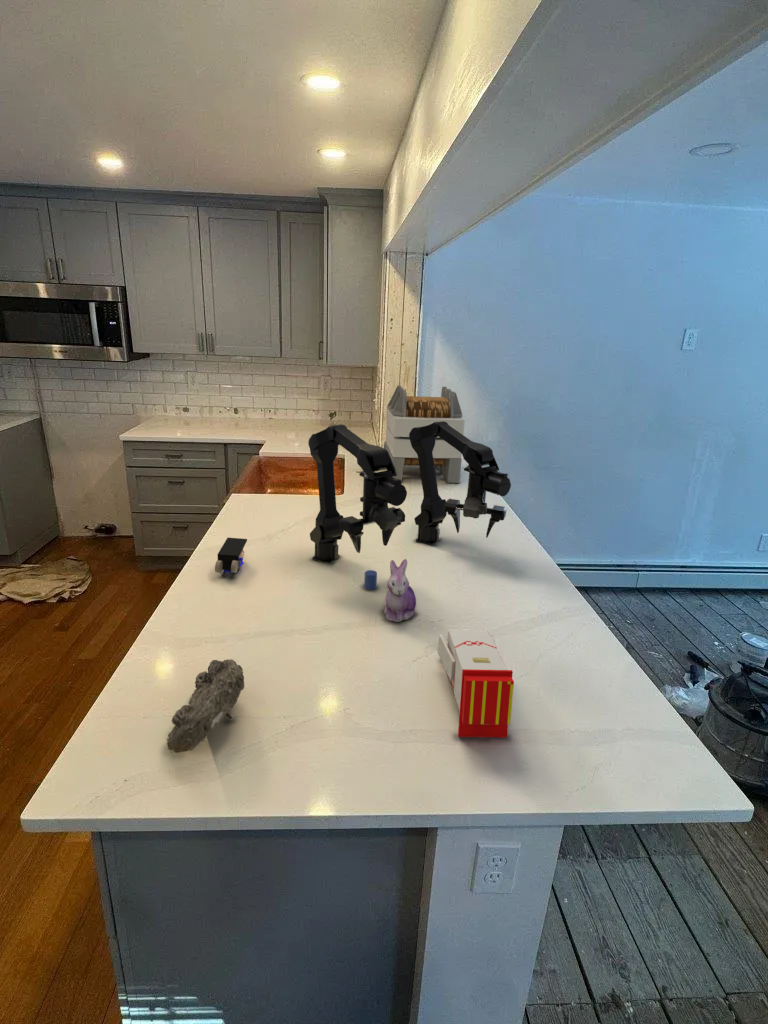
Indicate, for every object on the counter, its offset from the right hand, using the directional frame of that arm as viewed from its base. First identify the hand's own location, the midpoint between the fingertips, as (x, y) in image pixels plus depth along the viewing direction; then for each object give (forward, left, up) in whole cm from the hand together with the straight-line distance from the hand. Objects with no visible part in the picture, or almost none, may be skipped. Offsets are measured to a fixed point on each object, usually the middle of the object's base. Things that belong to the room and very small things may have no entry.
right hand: (472, 534), depth 179 cm
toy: (+19, -65, -9) cm, 68 cm away
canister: (-20, -33, -9) cm, 39 cm away
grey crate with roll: (-50, +86, -9) cm, 100 cm away
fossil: (-23, -95, -9) cm, 99 cm away
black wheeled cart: (-60, -42, -9) cm, 74 cm away
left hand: (-20, -33, +3) cm, 38 cm away
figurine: (-7, -43, -9) cm, 44 cm away
